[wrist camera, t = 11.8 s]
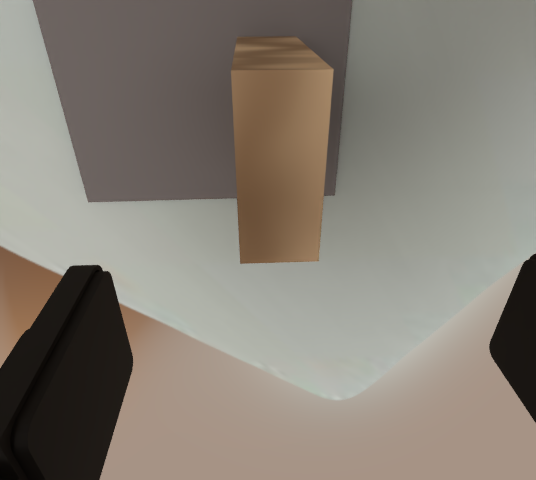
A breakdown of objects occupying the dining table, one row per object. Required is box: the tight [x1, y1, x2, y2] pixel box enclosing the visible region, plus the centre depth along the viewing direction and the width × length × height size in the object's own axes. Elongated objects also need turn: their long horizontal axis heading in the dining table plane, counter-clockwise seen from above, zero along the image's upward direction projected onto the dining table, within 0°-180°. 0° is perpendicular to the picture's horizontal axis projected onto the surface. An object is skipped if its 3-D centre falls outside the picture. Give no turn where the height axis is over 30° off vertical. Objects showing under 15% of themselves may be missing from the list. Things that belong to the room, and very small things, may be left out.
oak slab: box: [231, 36, 334, 264], centre depth 21 cm, size 4×8×12 cm, turn 0°
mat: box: [33, 0, 352, 202], centre depth 26 cm, size 18×13×1 cm
